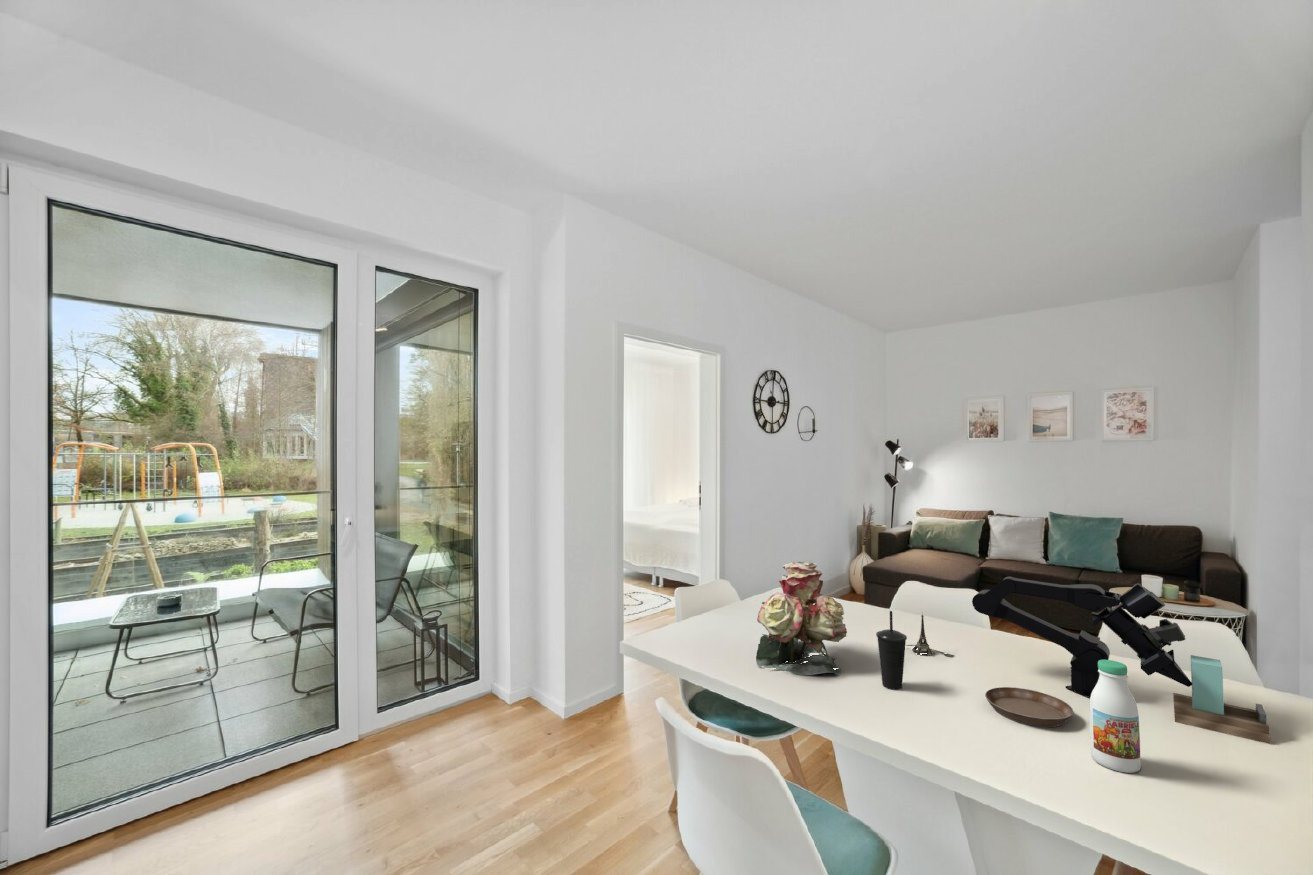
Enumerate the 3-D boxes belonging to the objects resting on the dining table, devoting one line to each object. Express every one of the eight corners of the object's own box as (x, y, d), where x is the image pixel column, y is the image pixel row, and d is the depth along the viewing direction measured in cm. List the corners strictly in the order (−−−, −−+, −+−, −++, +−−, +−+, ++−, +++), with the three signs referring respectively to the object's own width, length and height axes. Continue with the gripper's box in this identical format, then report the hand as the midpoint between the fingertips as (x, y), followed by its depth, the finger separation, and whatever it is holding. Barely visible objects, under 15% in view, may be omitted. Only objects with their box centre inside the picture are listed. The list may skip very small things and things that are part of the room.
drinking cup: (907, 683, 150) (906, 609, 151) (907, 694, 144) (906, 616, 144) (877, 678, 154) (876, 606, 154) (876, 688, 147) (874, 613, 147)
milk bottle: (1081, 753, 115) (1078, 656, 115) (1115, 752, 115) (1112, 655, 116) (1115, 775, 107) (1111, 671, 108) (1151, 773, 108) (1148, 669, 108)
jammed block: (1193, 713, 129) (1191, 661, 129) (1192, 705, 133) (1190, 654, 134) (1224, 720, 125) (1222, 667, 126) (1221, 711, 130) (1220, 659, 130)
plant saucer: (968, 704, 138) (968, 692, 138) (1018, 693, 144) (1018, 681, 144) (1039, 738, 122) (1038, 724, 122) (1091, 724, 128) (1091, 710, 128)
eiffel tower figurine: (956, 657, 171) (955, 614, 171) (940, 665, 165) (939, 620, 165) (910, 644, 183) (909, 603, 183) (893, 650, 177) (892, 608, 177)
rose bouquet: (751, 673, 158) (750, 568, 159) (768, 641, 185) (767, 551, 186) (846, 686, 149) (844, 574, 150) (849, 650, 176) (848, 556, 177)
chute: (1174, 721, 128) (1174, 699, 128) (1173, 702, 138) (1172, 682, 138) (1270, 744, 118) (1269, 720, 118) (1262, 722, 128) (1261, 700, 128)
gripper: (1157, 618, 129) (1227, 679, 121) (1157, 602, 142) (1220, 656, 135) (1115, 645, 134) (1179, 705, 126) (1118, 627, 147) (1177, 680, 140)
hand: (1190, 685), depth 131 cm, fingers closed, pressing on jammed block
